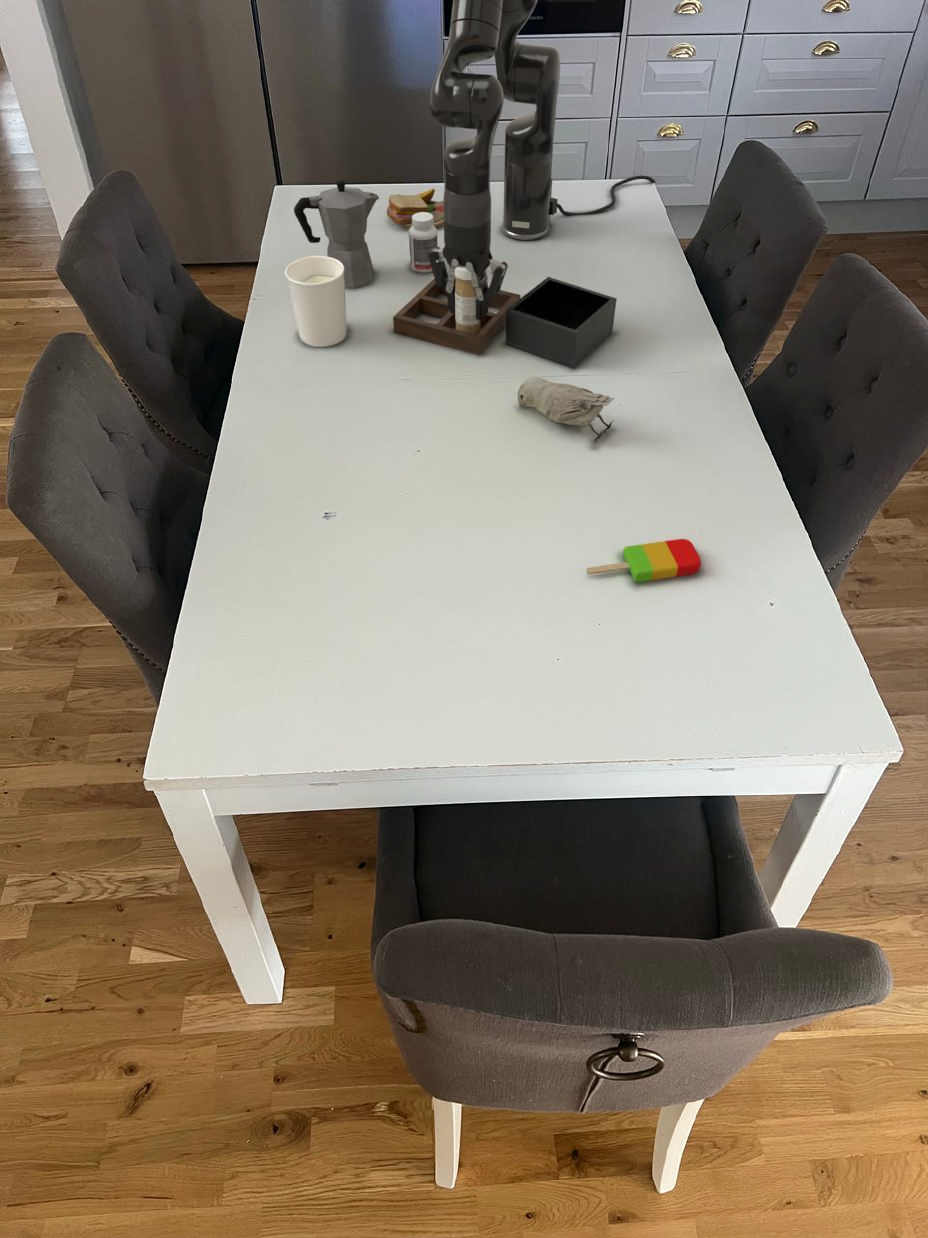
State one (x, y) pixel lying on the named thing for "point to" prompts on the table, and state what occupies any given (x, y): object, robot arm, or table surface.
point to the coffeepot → (343, 228)
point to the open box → (560, 321)
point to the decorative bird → (564, 402)
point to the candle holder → (318, 299)
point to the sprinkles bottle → (465, 302)
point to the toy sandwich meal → (414, 208)
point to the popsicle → (656, 560)
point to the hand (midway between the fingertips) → (467, 313)
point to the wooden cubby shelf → (450, 320)
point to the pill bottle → (422, 241)
